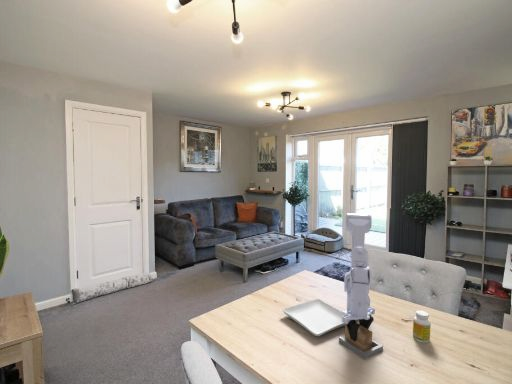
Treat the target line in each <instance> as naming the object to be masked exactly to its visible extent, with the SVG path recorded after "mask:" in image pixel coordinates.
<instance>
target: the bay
mask: <svg viewBox="0 0 512 384" xmlns="http://www.w3.org/2000/svg"><path fill="white" fill-rule="evenodd" d="M338 342H339V343H341V344H343V346H345V347H346V348H348V349H349V350H350V351H352V352H353V353H355V354H356V355H358V356H359V357H361V358H362V359H363V360H365V359H367V358H369V357H371V356H374V355H376V354H378V353H380V352H382V351H384V345H382V344H381V343H379V342H377V341H376V340H375V339H373V338H372V348H371V349H369V350H367V351H365V352H363V351H362V350H360V349H359V348H357V347H356V346H354V345H353V344H351V343H350V342H348V341H347V340H345V337H343V336H339V337H338Z"/></svg>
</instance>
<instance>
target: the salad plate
mask: <svg viewBox="0 0 512 384" xmlns="http://www.w3.org/2000/svg"><path fill="white" fill-rule="evenodd" d="M342 311H343V310H342ZM342 311H341V310H340V309H339V308H337V307H334V306H333V305H331V304H329V303H328V302H325V301H323V300H321V299H320V298H316V299H312V300H309V301H305V302H301V303H299V304H295V305H292V306H288V307H286V308H283V309H282V312H283V313H284V314H285V315H286V316H287V317H289V319H291V320H293V321H294V322H295V323H297V324H299V325H300V326H301V327H303V328H304V329H305V330H307V331H308V332H309V333H311V335H312V336H314V337H315V336H316V337H320V336H323V335H324V334H327V333H328V332H331V331H333V330H335V329H336V330H337V329H338V328H341V327H345V323H343V322H342V316H344V315H345V313H344V312H342Z"/></svg>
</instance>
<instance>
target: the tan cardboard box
mask: <svg viewBox="0 0 512 384" xmlns="http://www.w3.org/2000/svg"><path fill="white" fill-rule="evenodd" d="M344 339H345V340H347V341H348V342H350V343H351V344H353V345H354V346H356V347H357V348H359V349H360V350H362V351H363V352H365V351H367V350H369V349H371V348H373V346H372V339H373V331H372V330H370V329H366V328H365V327H363V326H361V325H360V326H359V328H358V332H357V339H356V341H353V340H352V339H350V335H349V331H348V328H347V326H346V324H345V325H344Z"/></svg>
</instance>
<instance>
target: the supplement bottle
mask: <svg viewBox="0 0 512 384" xmlns="http://www.w3.org/2000/svg"><path fill="white" fill-rule="evenodd" d="M412 322H413V323H412V337H413V339H414V340H416V341H417V342H421V343H430V341H431V325H432V324H431V320H430V319H429V313H428V312H426V311H425V310H420V309H419V310H416V311H415V316H414V317H413V320H412Z"/></svg>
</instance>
